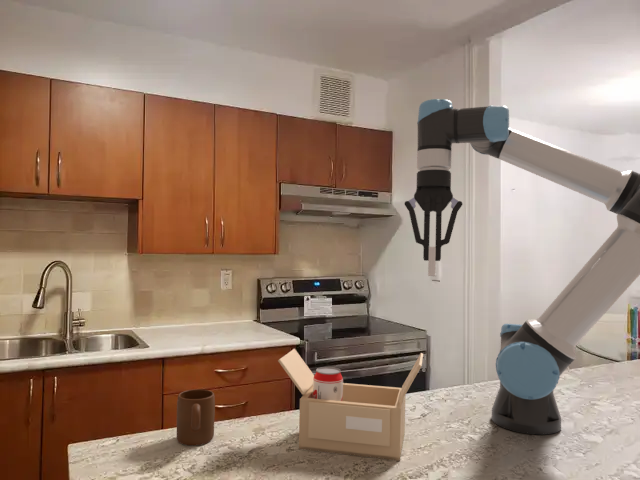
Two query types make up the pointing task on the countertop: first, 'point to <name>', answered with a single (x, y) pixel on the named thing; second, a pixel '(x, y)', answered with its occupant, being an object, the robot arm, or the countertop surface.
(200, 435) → the mug
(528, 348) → the robot arm
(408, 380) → the flap near
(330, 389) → the beer can
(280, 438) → the countertop surface
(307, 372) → the flap far
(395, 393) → the carton
